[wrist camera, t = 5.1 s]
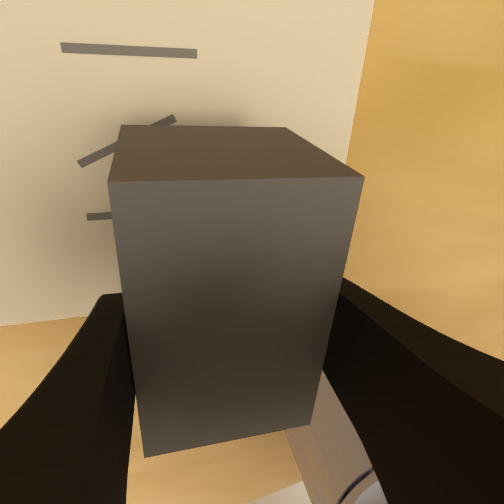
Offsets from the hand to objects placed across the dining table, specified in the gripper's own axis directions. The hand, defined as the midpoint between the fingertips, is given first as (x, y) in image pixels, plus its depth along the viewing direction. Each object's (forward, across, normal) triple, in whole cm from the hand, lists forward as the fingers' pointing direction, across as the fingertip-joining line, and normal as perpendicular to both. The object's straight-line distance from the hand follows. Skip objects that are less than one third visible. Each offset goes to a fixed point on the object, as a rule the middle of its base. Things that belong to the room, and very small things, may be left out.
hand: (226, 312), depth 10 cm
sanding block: (+4, 0, 0) cm, 4 cm away
